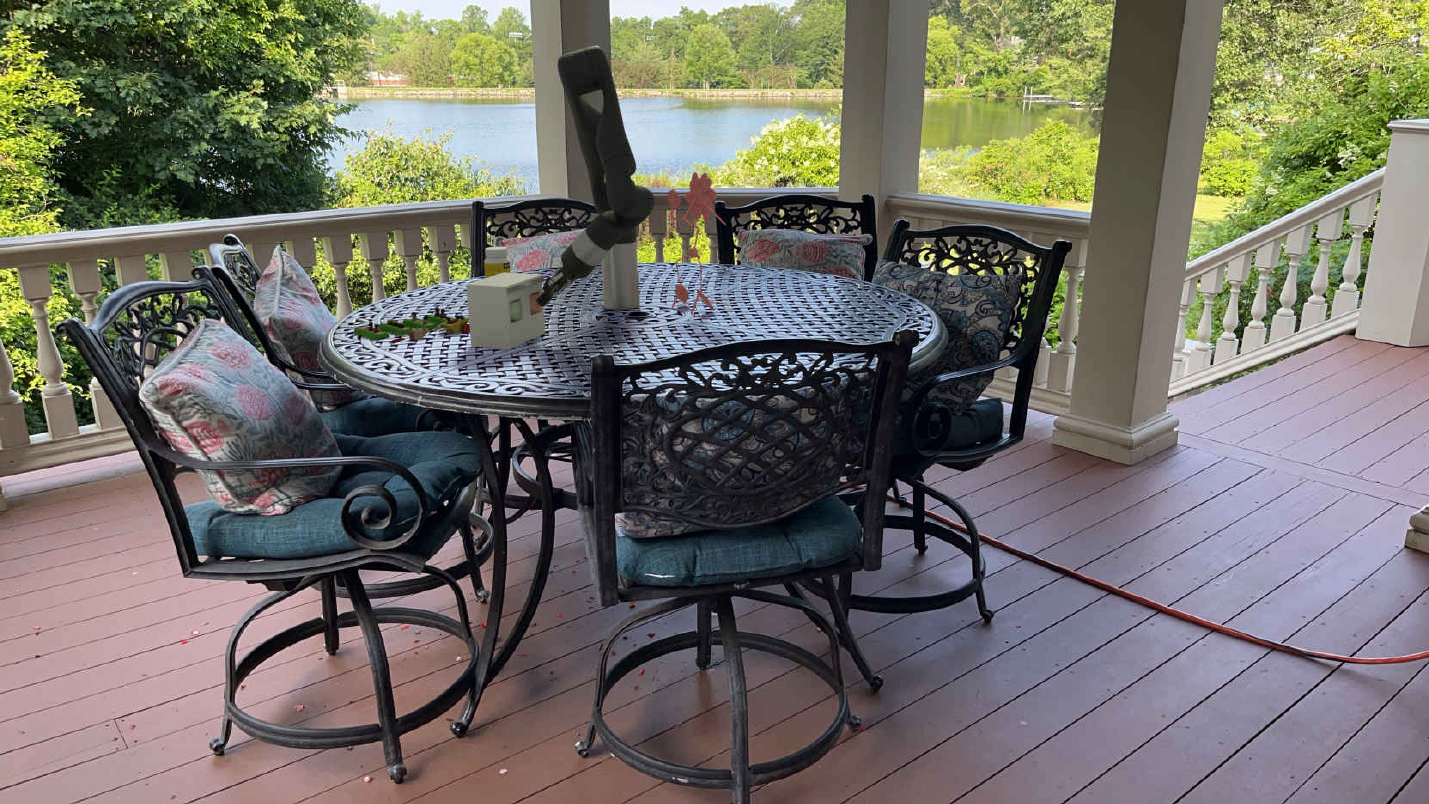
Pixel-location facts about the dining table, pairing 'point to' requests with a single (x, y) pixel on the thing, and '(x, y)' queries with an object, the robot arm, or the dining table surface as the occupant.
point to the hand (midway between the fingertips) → (540, 303)
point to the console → (503, 310)
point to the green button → (515, 310)
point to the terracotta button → (534, 303)
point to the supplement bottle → (496, 261)
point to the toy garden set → (415, 326)
